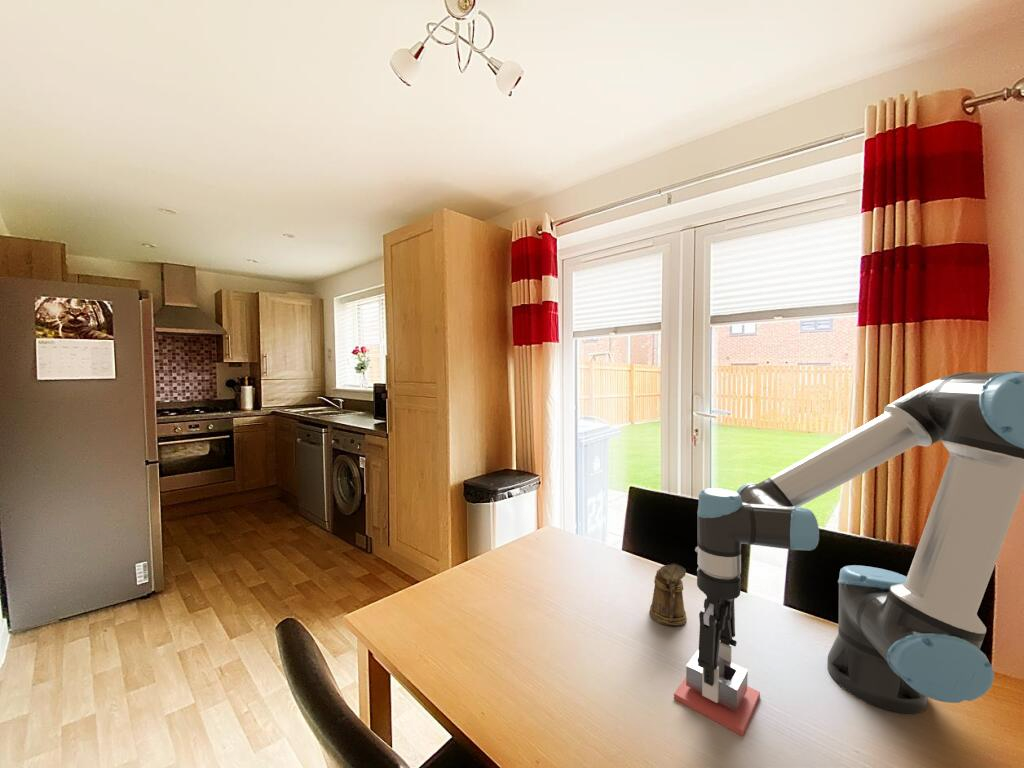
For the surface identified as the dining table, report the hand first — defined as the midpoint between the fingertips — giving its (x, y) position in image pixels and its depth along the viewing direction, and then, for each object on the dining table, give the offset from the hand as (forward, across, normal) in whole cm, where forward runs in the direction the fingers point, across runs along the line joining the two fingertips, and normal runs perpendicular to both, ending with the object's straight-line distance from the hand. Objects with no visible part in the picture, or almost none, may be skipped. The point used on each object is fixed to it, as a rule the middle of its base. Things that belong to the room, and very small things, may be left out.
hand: (717, 686), depth 79 cm
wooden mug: (+2, -18, -17) cm, 25 cm away
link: (0, 0, 0) cm, 0 cm away
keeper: (+2, 0, 0) cm, 2 cm away
